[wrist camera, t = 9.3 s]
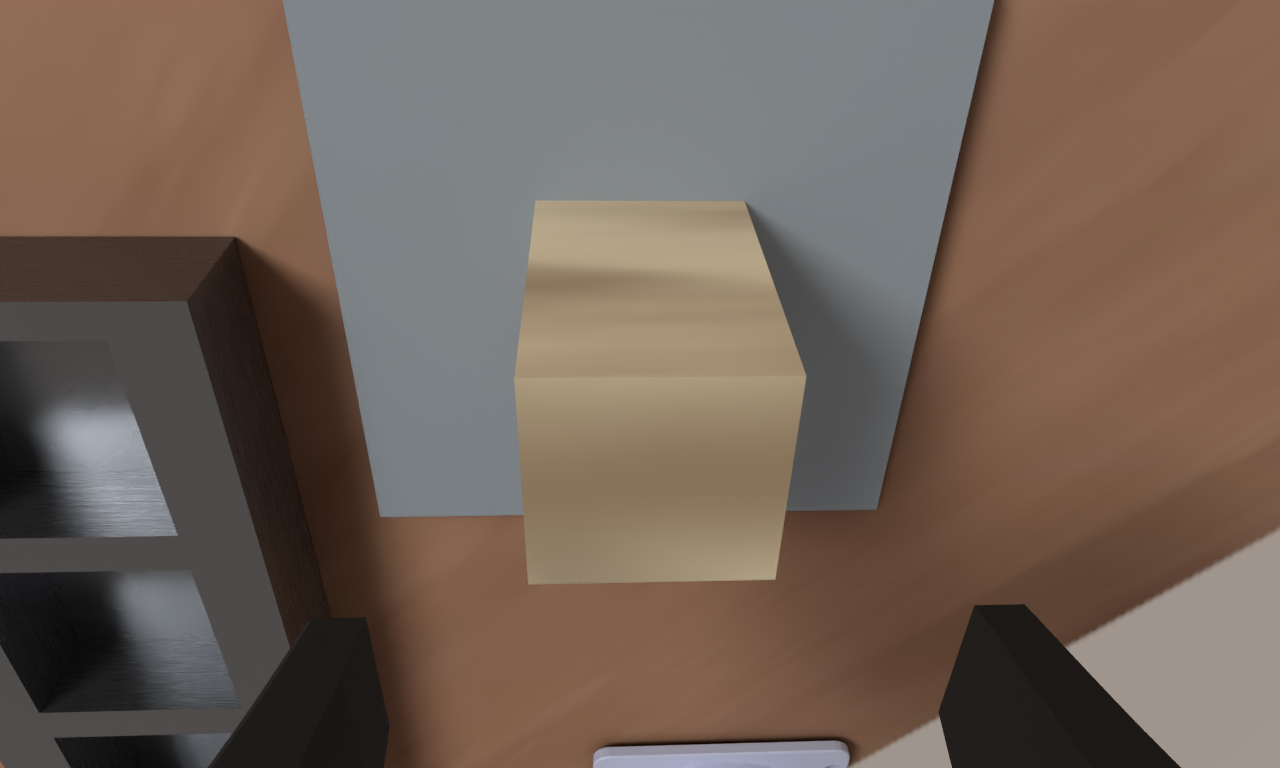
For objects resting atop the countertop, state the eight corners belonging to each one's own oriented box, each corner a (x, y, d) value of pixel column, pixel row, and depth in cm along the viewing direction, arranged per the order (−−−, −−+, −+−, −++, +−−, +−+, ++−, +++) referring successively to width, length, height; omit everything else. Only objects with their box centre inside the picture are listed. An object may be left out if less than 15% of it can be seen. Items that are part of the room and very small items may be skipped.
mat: (870, 493, 23) (876, 509, 22) (385, 500, 22) (380, 516, 22) (985, -24, 16) (998, -17, 15) (287, -35, 15) (277, -29, 15)
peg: (728, 373, 20) (775, 579, 15) (543, 375, 19) (527, 584, 14) (744, 200, 17) (806, 376, 12) (535, 200, 17) (514, 378, 12)
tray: (368, 765, 28) (349, 848, 26) (103, 773, 28) (63, 858, 26) (234, 236, 18) (186, 301, 16) (-187, 236, 18) (-295, 302, 15)
